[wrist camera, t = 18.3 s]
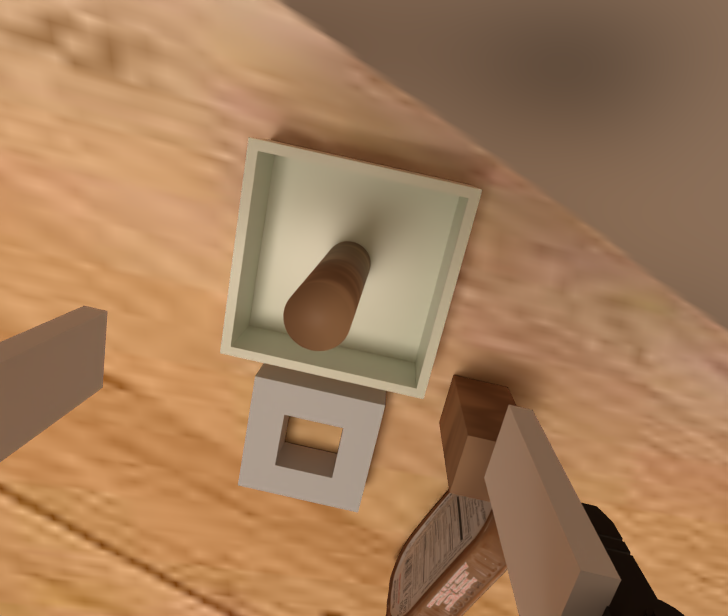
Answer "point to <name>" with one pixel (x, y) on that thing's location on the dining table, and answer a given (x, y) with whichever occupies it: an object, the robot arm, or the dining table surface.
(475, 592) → the tin
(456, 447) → the wooden block
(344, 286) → the dowel
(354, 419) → the socket block
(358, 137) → the dining table surface
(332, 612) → the dining table surface
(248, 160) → the tray
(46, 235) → the dining table surface
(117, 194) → the dining table surface
